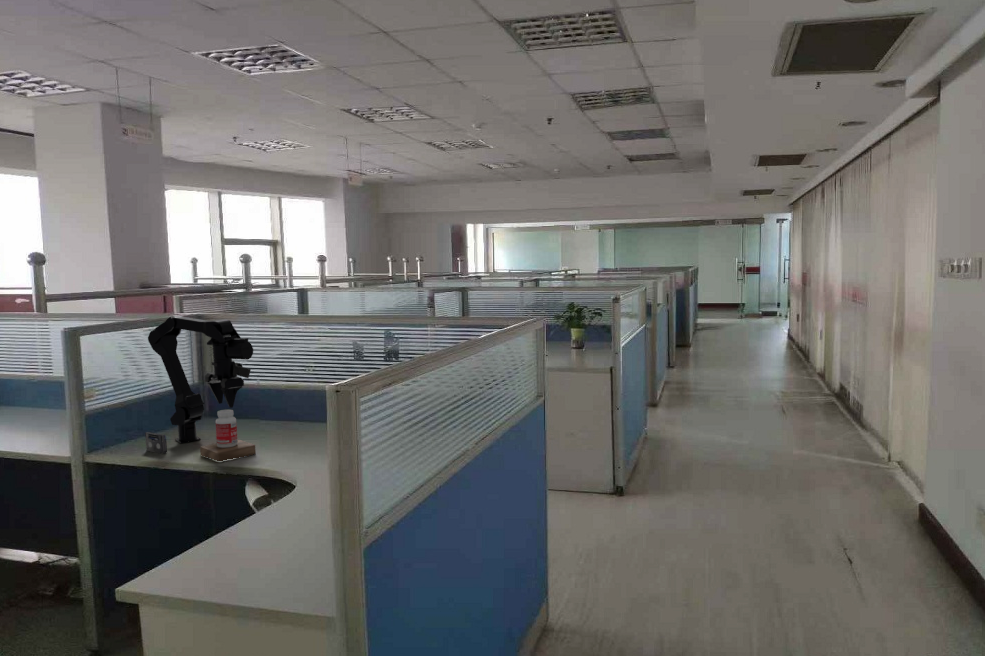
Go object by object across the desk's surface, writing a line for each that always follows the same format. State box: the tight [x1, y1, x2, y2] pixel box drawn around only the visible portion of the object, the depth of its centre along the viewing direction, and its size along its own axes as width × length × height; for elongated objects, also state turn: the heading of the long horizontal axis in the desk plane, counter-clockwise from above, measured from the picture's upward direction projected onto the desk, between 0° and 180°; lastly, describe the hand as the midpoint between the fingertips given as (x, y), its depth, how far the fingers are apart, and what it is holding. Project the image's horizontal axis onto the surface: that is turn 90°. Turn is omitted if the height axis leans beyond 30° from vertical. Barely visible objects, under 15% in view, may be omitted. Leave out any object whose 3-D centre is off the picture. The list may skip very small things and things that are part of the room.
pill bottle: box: [215, 409, 238, 448], centre depth 226 cm, size 6×6×11 cm
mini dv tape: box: [144, 431, 168, 454], centre depth 233 cm, size 8×2×6 cm, turn 61°
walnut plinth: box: [199, 438, 257, 461], centre depth 227 cm, size 12×12×3 cm
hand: (225, 405), depth 238 cm, fingers open, 9 cm apart
